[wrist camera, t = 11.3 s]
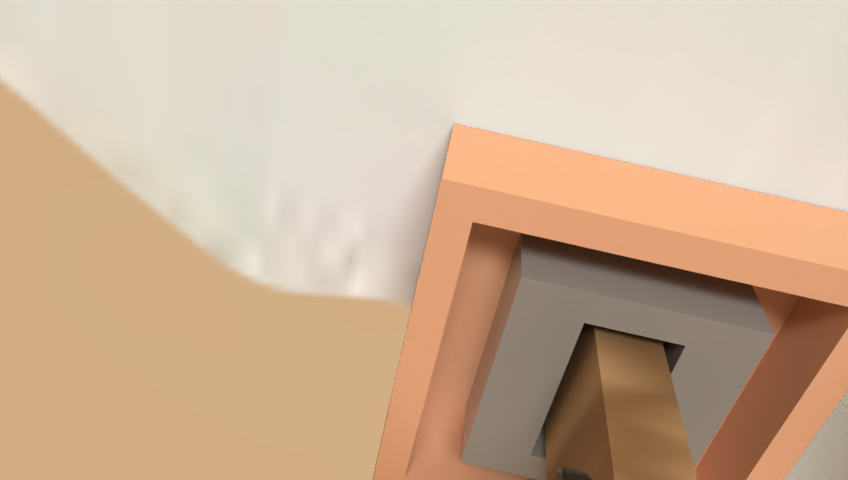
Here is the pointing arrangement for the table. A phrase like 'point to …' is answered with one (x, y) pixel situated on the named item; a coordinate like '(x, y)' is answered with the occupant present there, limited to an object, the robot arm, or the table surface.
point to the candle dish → (613, 310)
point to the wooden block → (617, 412)
